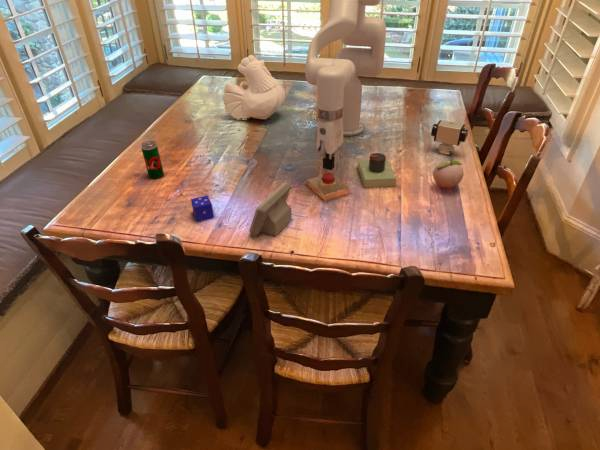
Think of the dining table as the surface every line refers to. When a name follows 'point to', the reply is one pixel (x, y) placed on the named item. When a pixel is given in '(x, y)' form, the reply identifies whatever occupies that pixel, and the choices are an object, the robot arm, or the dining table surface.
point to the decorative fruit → (448, 174)
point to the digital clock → (272, 212)
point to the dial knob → (377, 162)
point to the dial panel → (376, 175)
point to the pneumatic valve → (448, 135)
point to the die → (202, 208)
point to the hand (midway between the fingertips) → (328, 167)
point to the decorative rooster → (253, 92)
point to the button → (328, 177)
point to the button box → (328, 187)
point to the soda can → (152, 159)
